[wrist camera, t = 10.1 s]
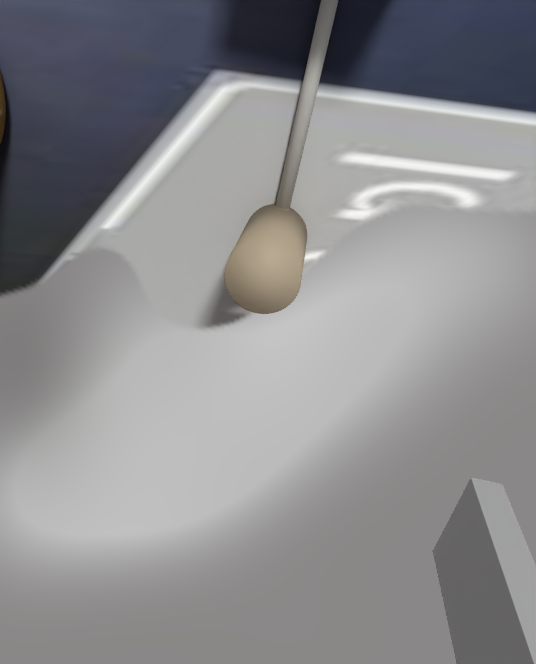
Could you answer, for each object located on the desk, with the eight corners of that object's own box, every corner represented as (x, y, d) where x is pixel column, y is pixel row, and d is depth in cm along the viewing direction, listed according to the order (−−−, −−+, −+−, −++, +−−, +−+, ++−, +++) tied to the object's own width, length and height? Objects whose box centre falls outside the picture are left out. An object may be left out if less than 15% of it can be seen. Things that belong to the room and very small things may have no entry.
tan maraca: (214, 250, 27) (186, 296, 22) (311, -322, 17) (303, -495, 12) (324, 276, 27) (322, 328, 22) (485, -279, 17) (555, -432, 12)
